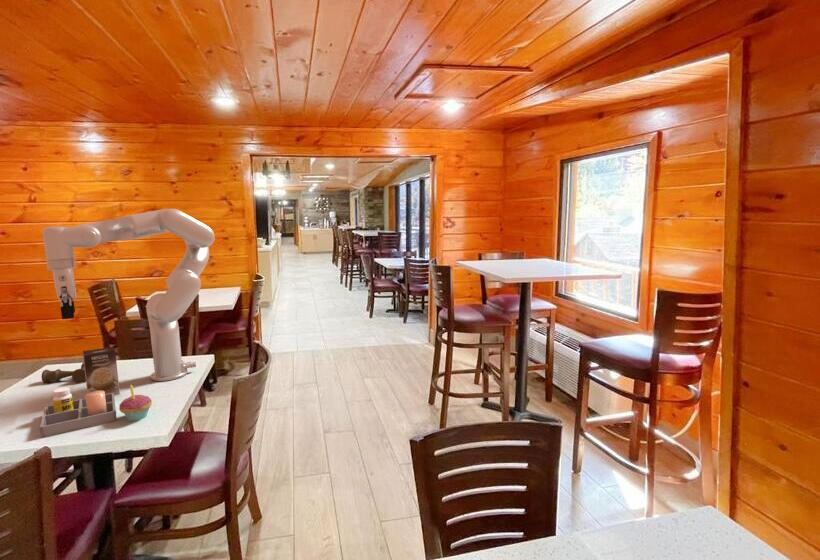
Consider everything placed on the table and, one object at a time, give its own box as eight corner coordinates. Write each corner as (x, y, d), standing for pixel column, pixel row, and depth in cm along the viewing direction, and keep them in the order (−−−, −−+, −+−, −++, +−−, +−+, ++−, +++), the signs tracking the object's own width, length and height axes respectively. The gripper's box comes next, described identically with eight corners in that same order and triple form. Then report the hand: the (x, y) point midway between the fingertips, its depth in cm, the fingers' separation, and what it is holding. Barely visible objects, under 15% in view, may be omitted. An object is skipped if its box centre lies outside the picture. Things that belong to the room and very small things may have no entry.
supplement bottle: (64, 420, 141) (60, 393, 140) (51, 418, 142) (47, 392, 141) (78, 413, 146) (74, 387, 144) (65, 412, 146) (62, 386, 145)
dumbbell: (51, 379, 180) (109, 372, 185) (38, 389, 171) (100, 381, 175) (48, 364, 179) (107, 358, 184) (35, 373, 170) (97, 366, 174)
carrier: (115, 402, 155) (113, 392, 154) (117, 422, 140) (115, 411, 139) (47, 416, 145) (45, 406, 144) (41, 439, 130) (39, 427, 130)
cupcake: (149, 422, 139) (145, 384, 137) (116, 427, 137) (111, 387, 135) (156, 411, 147) (151, 374, 145) (125, 415, 145) (120, 377, 143)
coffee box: (88, 402, 155) (82, 355, 153) (87, 396, 160) (81, 351, 158) (120, 395, 161) (115, 350, 158) (119, 390, 166) (113, 345, 163)
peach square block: (107, 414, 144) (104, 389, 143) (107, 419, 140) (104, 394, 139) (88, 418, 142) (85, 392, 141) (88, 424, 138) (85, 398, 137)
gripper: (75, 265, 149) (82, 318, 151) (76, 261, 163) (82, 309, 166) (45, 268, 145) (53, 322, 147) (49, 263, 159) (56, 313, 161)
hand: (68, 315), depth 156 cm, fingers open, 9 cm apart
